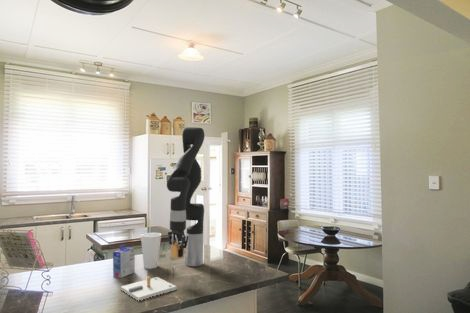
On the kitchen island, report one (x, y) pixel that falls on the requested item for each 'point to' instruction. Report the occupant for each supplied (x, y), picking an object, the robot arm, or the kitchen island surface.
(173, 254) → the cube with dome knob
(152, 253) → the cup
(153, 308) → the kitchen island surface
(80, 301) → the kitchen island surface
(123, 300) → the kitchen island surface
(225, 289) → the kitchen island surface
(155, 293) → the plate
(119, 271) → the ink cartridge box
